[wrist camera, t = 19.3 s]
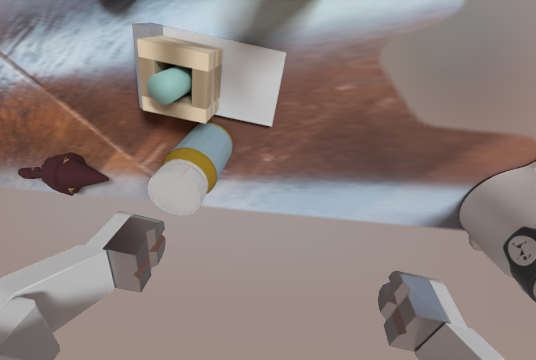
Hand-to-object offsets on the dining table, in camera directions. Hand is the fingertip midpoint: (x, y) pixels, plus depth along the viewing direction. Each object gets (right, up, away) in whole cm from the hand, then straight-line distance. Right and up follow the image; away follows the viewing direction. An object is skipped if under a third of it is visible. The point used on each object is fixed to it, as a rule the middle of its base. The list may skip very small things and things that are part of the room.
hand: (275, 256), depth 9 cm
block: (-11, +17, +26) cm, 33 cm away
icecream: (-34, +6, +38) cm, 52 cm away
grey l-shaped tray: (-8, +17, +27) cm, 33 cm away
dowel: (-11, +17, +26) cm, 33 cm away
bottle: (-9, +9, +33) cm, 35 cm away
